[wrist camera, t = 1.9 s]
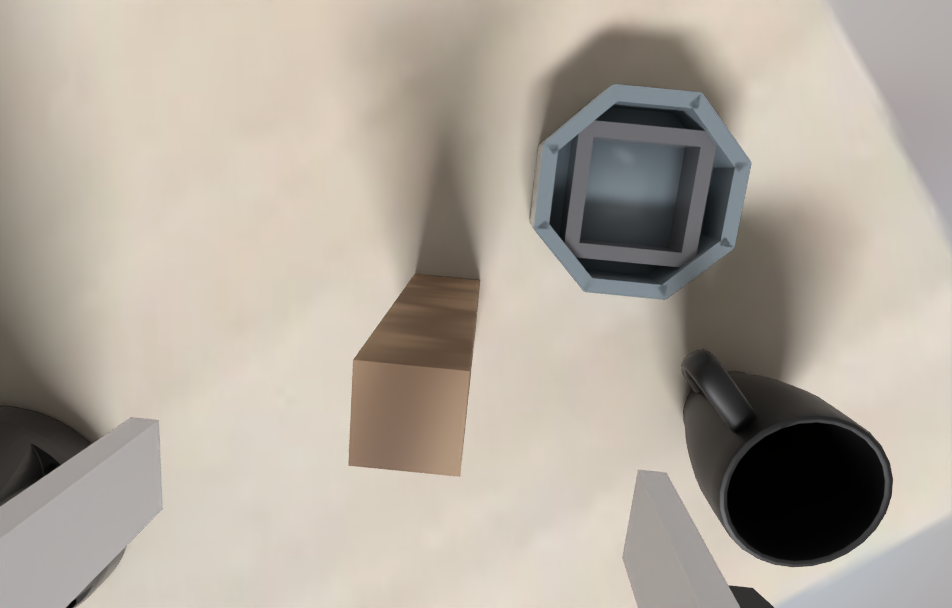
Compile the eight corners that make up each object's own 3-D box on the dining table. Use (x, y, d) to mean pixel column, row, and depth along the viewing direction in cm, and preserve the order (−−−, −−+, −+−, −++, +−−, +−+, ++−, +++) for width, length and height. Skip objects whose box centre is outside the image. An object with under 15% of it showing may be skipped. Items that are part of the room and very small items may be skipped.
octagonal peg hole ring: (523, 274, 35) (526, 286, 31) (544, 87, 32) (551, 77, 29) (700, 291, 35) (722, 305, 31) (735, 105, 32) (764, 98, 29)
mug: (715, 276, 35) (796, 316, 25) (816, 423, 37) (926, 510, 27) (602, 354, 36) (640, 420, 27) (706, 492, 38) (775, 597, 29)
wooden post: (410, 336, 36) (348, 465, 20) (415, 273, 35) (353, 360, 20) (474, 342, 36) (460, 476, 20) (480, 280, 35) (470, 371, 20)
